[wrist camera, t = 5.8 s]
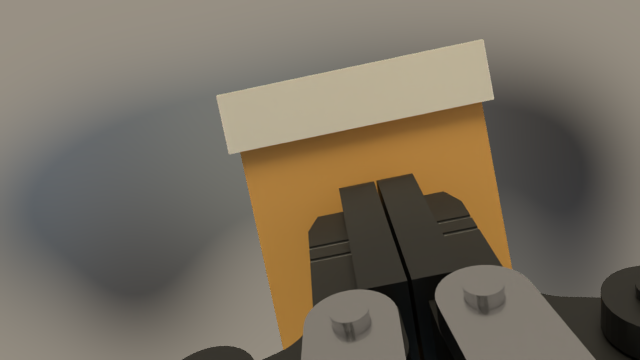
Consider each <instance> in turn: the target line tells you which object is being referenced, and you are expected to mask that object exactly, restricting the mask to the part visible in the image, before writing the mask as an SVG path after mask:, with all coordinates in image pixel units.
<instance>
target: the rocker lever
mask: <svg viewBox="0 0 640 360" xmlns="http://www.w3.org/2000/svg"><path fill="white" fill-rule="evenodd" d="M216 97H217V102H218V106H219V111H220V115H221V120H222V125H223V129H224V134H225V138H226V143H227V147H228V152H229V154H233V153H237V152H240V153H241V158H242V162H243V167H244V171H245V176H246V181H247V185H248V190H249V194H250V199H251V203H252V208H253V212H254V217H255V222H256V226H257V231H258V235H259V240H260V245H261V249H262V254H263V258H264V263H265V267H266V272H267V277H268V281H269V285H270V290H271V295H272V299H273V304H274V308H275V313H276V318H277V322H278V327H279V331H280V336H281V341H282V345H283V349H286V348H288V347H289V346H291V345H292V344H293V343H295V342H296V341H297V340H298V339H299V338H300V337H301V336H302V335H303V327H304V321H305V319H306V316H307V314H308V313H309V312H310V310H311V309H312V308H313V300H312V285H311V269H310V254H309V250H310V249H309V238H308V231H309V230H310V228H311V226H312V225H313V223H314V222H315V220H316V219H317V217H319V216H324V215H329V214H334V213H339V212H343V208H342V203H341V198H340V192H339V188H342V187H347V186H352V185H357V184H362V183H367V182H372V181H374V183H375V186H376V189H377V183H376V181H377V180H381V179H386V178H391V177H396V176H401V175H406V174H411V173H412V174H413V175H414V177H415V179H416V181H417V183H418V185H419V187H420V189H421V191H422V193H423V195H428V194H433V193H438V192H442V191H444V192H446V193H448V194H450V195H451V196H453V197H455V198H457V199H459V200H461V201H462V203H463V204H464V206H465V207H466V209H467V210H468V212H469V214H470V217H472V218H473V220H474V222H475V223H476V225H477V227H478V229H480V231H481V233H482V234H483V236H484V237H485V239H486V241H487V242H488V244H489V245H490V247H491V249H492V250H493V252H494V253H495V255H496V256H497V258H498V260H499V261H500V263H501V264H502V266H503V267H506V268H509V269H512V266H511V261H510V255H509V249H508V244H507V239H506V233H505V227H504V222H503V217H502V211H501V206H500V200H499V195H498V189H497V184H496V178H495V173H494V168H493V162H492V156H491V151H490V145H489V140H488V134H487V129H486V123H485V118H484V112H483V107H482V102H483V101H488V100H493V99H494V96H493V90H492V84H491V79H490V73H489V67H488V62H487V56H486V51H485V46H484V40H483V39H481V40H476V41H471V42H466V43H462V44H457V45H452V46H448V47H443V48H438V49H434V50H429V51H424V52H420V53H415V54H410V55H405V56H400V57H396V58H391V59H386V60H381V61H377V62H373V63H367V64H363V65H358V66H353V67H348V68H344V69H339V70H334V71H329V72H325V73H320V74H315V75H310V76H306V77H301V78H296V79H292V80H287V81H282V82H277V83H273V84H268V85H264V86H259V87H254V88H249V89H245V90H239V91H235V92H230V93H225V94H221V95H216ZM377 192H378V191H377Z"/></svg>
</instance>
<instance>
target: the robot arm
mask: <svg viewBox="0 0 640 360" xmlns="http://www.w3.org/2000/svg"><path fill="white" fill-rule="evenodd" d="M376 183H377V189H376V186H375V183H374V181H372V182H367V183H362V184H357V185H352V186H347V187H342V188H339V192H340V198H341V203H342V208H343V212H339V213H334V214H329V215H324V216H319V217H317V219H316V220H315V222H314V223H313V225H312V226H311V228H310V230H309V231H308V238H309V249H310V250H309V254H310V269H311V285H312V300H313V308H312V309H311V310H310V312H309V313H308V314H307V316H306V319H305V321H304V327H303V335H302V336H301V337H300V338H299V339H298V340H297V341H296V342H295V343H293V344H292V345H291V346H289V347H288V348H286V349H284V350H283V351H281V352H279V353H277V354H274V355H272V356H270V357H268V358H265V359H263V360H640V266H636V267H630V268H625V269H622V270H620V271H617V272H615V273H613V274H612V275H610V276H609V277H608V278H607V279H606V280H605V281H604V282H603V284H602V287H601V298H589V297H588V298H587V297H559V296H551V295H546V294H542V293H540V292H539V291H538V290H537V289H536V288H535V286H534V285H533V284H532V283H531V281H530V280H529V279H528V278H527V277H525V276H524V275H522V274H521V273H519V272H517V271H515V270H512V269H509V268H506V267H503V266H502V264H501V263H500V261H499V260H498V258H497V256H496V255H495V253H494V252H493V250H492V249H491V247H490V245H489V244H488V242H487V241H486V239H485V237H484V236H483V234H482V233H481V231H480V229H478V227H477V225H476V223H475V222H474V220H473V218H472V217H470V214H469V212H468V210H467V209H466V207H465V206H464V204H463V203H462V201H461V200H459V199H457V198H455V197H453V196H451V195H450V194H448V193H446V192H444V191H442V192H438V193H433V194H428V195H423V193H422V191H421V189H420V187H419V185H418V183H417V181H416V179H415V177H414V175H413V174H412V173H411V174H406V175H401V176H396V177H391V178H386V179H381V180H377V181H376ZM377 191H378V192H377ZM183 360H253V358H252V357H251V355H250V354H248V353H247V352H246V351H244V350H242V349H240V348H236V347H230V346H218V347H211V348H207V349H204V350H201V351H199V352H196V353H193V354H192V355H190V356H188V357H186V358H184V359H183Z"/></svg>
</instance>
